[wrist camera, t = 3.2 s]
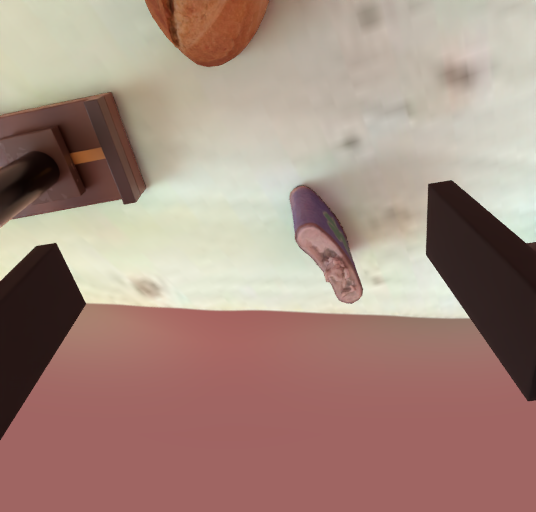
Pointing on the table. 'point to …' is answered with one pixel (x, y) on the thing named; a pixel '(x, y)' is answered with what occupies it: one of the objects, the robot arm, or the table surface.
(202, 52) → the bread roll
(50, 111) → the rail
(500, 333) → the robot arm
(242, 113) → the table surface
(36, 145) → the tap
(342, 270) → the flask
